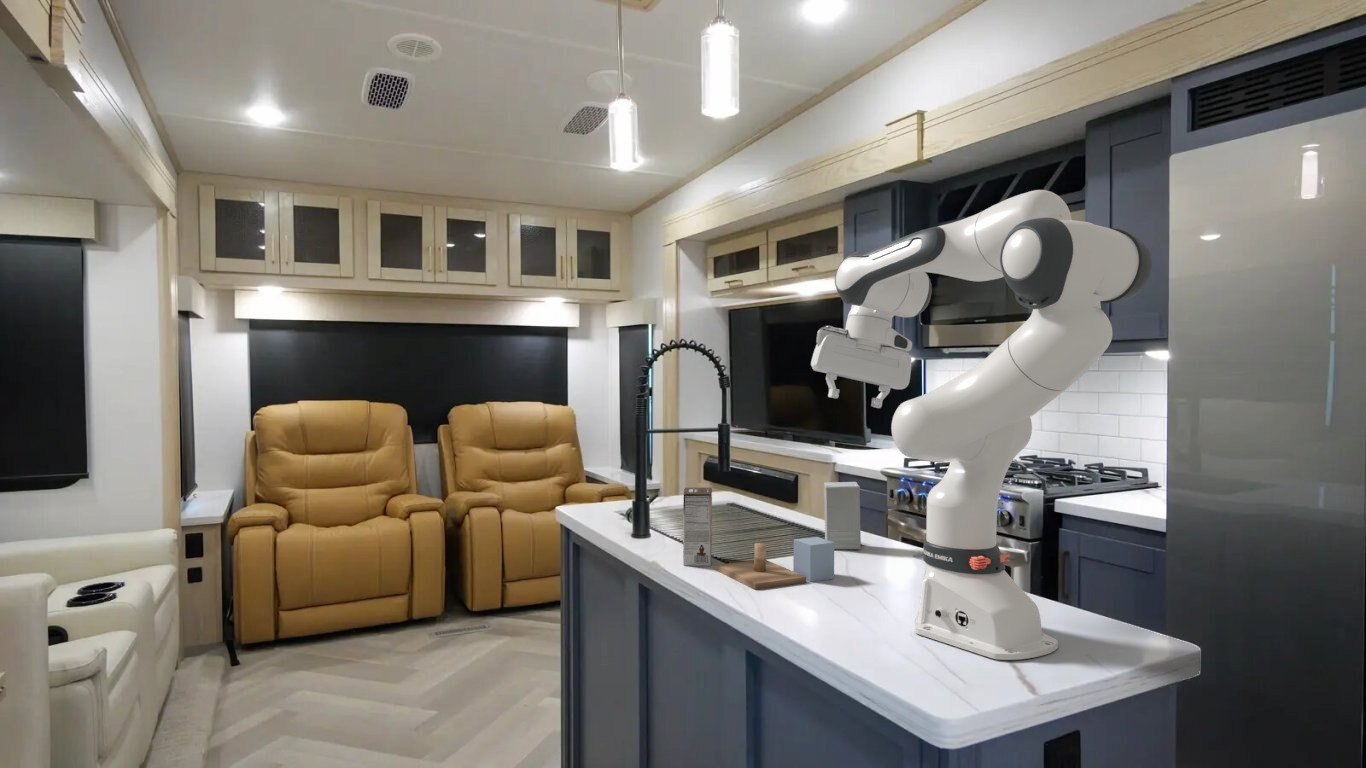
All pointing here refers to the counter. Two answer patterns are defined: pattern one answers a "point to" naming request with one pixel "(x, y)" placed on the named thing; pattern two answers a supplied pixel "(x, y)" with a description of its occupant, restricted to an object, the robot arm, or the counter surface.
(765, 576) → the post base
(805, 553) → the pale blue cube
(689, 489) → the coffee box
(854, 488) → the skincare box
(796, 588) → the counter surface
